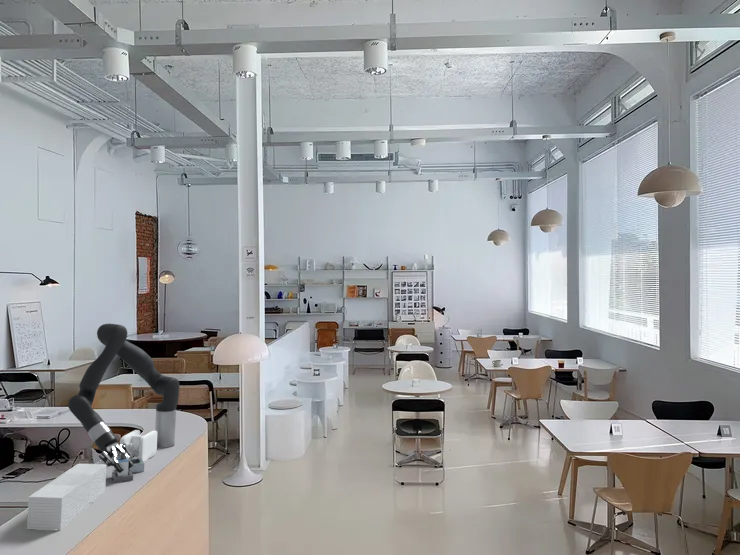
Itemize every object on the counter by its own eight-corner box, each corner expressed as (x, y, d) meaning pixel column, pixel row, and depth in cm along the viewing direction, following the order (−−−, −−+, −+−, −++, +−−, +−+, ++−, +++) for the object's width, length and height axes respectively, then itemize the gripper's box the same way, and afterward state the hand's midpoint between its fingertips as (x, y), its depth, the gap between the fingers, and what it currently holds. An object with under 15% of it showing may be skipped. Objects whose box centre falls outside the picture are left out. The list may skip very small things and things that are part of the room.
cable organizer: (141, 465, 240) (142, 438, 240) (117, 464, 241) (118, 437, 241) (157, 454, 255) (158, 429, 255) (134, 453, 256) (136, 428, 256)
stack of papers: (76, 491, 210) (78, 463, 210) (105, 492, 210) (106, 464, 210) (26, 530, 178) (28, 496, 178) (60, 531, 178) (62, 497, 178)
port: (120, 469, 234) (121, 459, 234) (140, 466, 238) (141, 456, 238) (123, 475, 227) (123, 465, 227) (144, 472, 232) (144, 462, 232)
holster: (111, 478, 224) (111, 472, 224) (130, 476, 227) (130, 469, 227) (113, 484, 218) (114, 478, 218) (132, 481, 221) (133, 475, 221)
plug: (116, 477, 223) (117, 451, 223) (126, 476, 225) (127, 450, 225) (117, 480, 220) (119, 454, 220) (127, 479, 222) (129, 453, 222)
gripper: (95, 434, 217) (120, 469, 215) (120, 425, 231) (144, 457, 228) (83, 446, 219) (108, 481, 216) (108, 437, 233) (132, 469, 230)
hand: (126, 469), depth 222 cm, fingers closed on plug, 5 cm apart
